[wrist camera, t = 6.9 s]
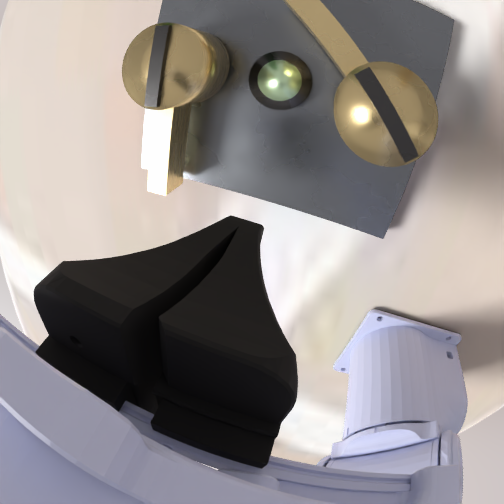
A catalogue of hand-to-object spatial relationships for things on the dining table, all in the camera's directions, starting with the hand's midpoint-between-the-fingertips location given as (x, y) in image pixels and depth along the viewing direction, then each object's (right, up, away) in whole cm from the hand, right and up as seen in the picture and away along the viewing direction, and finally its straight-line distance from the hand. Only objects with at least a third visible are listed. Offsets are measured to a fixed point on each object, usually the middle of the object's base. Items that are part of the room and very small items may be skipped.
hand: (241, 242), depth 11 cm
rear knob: (-3, +8, +4) cm, 9 cm away
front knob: (+5, +9, 0) cm, 10 cm away
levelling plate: (+2, +9, +3) cm, 10 cm away
